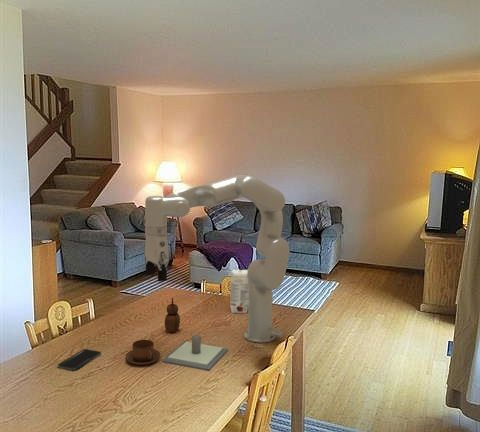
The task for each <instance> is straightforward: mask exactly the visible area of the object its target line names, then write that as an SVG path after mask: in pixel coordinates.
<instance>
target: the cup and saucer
mask: <svg viewBox="0 0 480 432" xmlns="http://www.w3.org/2000/svg"><path fill="white" fill-rule="evenodd" d="M160 358H161V352H160V351H158V350H157V349H155V347H154V341H152V340H151V339H150V340H149V339H138V340H136V341H134V342H132V350H130V351H128V352H127V353H126V354H125V359H126V361H127V362H128V363H130V364H133V365H139V366H142V365H144V366H145V365H149V364H153V363H155V362H157V361H158V360H159V359H160Z"/></svg>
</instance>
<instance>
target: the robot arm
mask: <svg viewBox="0 0 480 432" xmlns="http://www.w3.org/2000/svg"><path fill="white" fill-rule="evenodd" d="M242 198H245V199H246V200H249V201H250V202H252V203H253V204H254V205H255V207H256V208H257V209H258V211H259V213H260V216H261V218H260V219H261V222H260V225H259V231H258V234H257V235H258V236H257V240H256V245H255V246H256V247H255V250H256V252H257V253H258V254H259V255H260V256H262V257H264V259H262V258H261V259H260V258H258V259H254V260H252V261H251V262H250V263H249V265H248V267H247V270H248V272H247V275H248V284H249V306H248V310H247V314H248V316H247V330H246V331H244V333H243V338H244V339H245V340H247V341H248V342H252V343H262V344H263V343H269V342H272V341H274V340H275V339H276V337H278V338H282V336H283V332H282V331H281V330H280V329H275V326H274V324H272V323H273V303H274V302H273V301H274V300H273V298H274V296H273V292H274V291H275V290H278V289H279V288H280V287H281V286H282V284H283V282H284V279H285V275H286V272H287V268H288V267H287V266H288V261H289V258H290V251H291V250H290V245H289V243H288V242H287V240H286V239H285V238H283V237H282V230H283V224H284V216H283V211H282V209H283V208H284V207H285V205H286V199H285V195H284V194H283V193H282V192H281V191H280V190H279V189H277V188H275V187H273V186H272V185H269V184H268V183H266V182H264V181H262V180H261V179H259V178H257V177H255V176H252V175H247V174H238V175H233V176H231V177H227V178H223V179H221V180H218V181H215V182H211V183H207V184H205V183H204V184H202V185H198V186H192V187H190V188H189V187H188V188H185V189H182V190H178V191H175V192H172V193H169V194H167V195H166V196H162V195H152V196H151V195H150V196H147V197H146V198H145V206H144V207H145V212H144V213H145V222H144V224H145V228H144V229H145V231H144V232H145V233H144V234H145V235H144V236H145V243H144V244H145V247H144V248H145V249H144V251H143V253H144V261H145V263H144V264H145V275H146V276H150V275H151V276H152V275H155V264H156V266H157V268H158V270H157V282H166V281H167V278H168V275H167V273H168V267H169V263H170V259H169V256H170V255H169V242H168V241H169V240H168V231H167V230H168V228H167V226H168V224H167V222H168V217H172V218H184V217H185V216H187V215H188V214H189V212H190V211H191V208H195V207H196V208H197V207H214V206H219V205H222V204H226V203H229V202H232V201H234V200H238V199H242Z"/></svg>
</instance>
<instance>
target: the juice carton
mask: <svg viewBox="0 0 480 432" xmlns="http://www.w3.org/2000/svg"><path fill="white" fill-rule="evenodd" d="M247 272H248V269H232V271H231V274H230V301H229V302H230V305H229V306H230V311H231V313H232V314H248V308H249V284H248V275H247Z"/></svg>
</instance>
